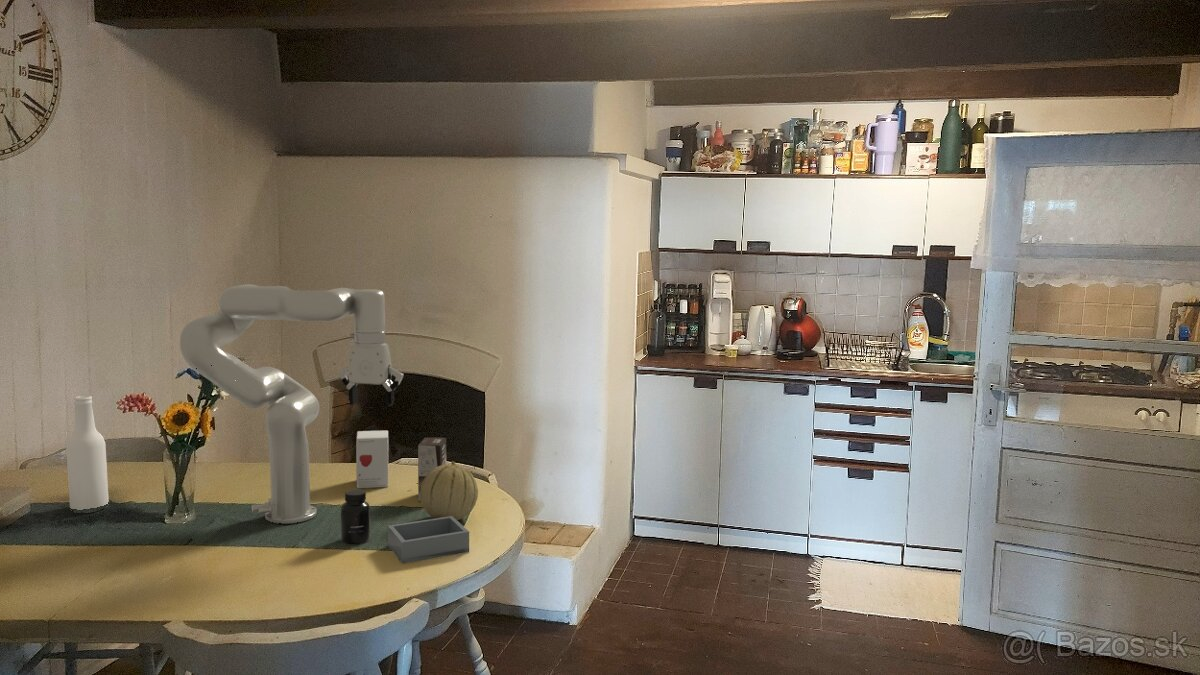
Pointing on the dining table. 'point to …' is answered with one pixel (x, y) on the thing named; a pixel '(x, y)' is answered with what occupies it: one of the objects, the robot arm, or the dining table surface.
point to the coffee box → (430, 457)
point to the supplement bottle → (355, 518)
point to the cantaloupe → (449, 492)
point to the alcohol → (86, 460)
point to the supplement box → (372, 459)
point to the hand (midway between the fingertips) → (371, 405)
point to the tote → (428, 539)
